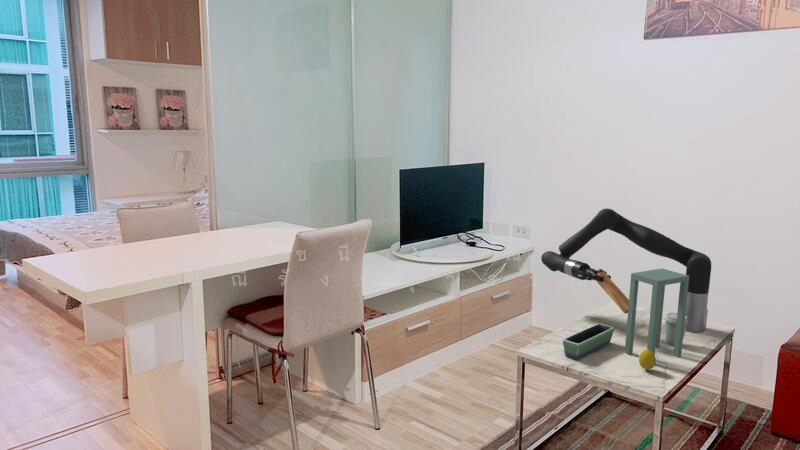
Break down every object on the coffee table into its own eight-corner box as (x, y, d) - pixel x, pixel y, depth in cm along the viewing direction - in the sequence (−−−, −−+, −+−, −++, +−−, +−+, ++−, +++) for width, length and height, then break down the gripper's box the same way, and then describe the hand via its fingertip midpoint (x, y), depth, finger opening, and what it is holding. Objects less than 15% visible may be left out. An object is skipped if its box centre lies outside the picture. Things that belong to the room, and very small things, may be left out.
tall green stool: (655, 345, 235) (662, 268, 229) (681, 356, 224) (689, 275, 219) (624, 352, 227) (631, 273, 222) (650, 364, 217) (657, 281, 211)
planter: (577, 362, 218) (578, 344, 217) (560, 357, 223) (561, 339, 222) (613, 344, 237) (615, 327, 235) (597, 339, 242) (598, 322, 240)
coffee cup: (665, 347, 233) (668, 318, 231) (659, 339, 242) (662, 311, 240) (688, 348, 232) (691, 319, 230) (681, 340, 240) (684, 312, 238)
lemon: (635, 367, 214) (637, 346, 213) (649, 366, 215) (651, 346, 213) (642, 373, 209) (644, 352, 207) (657, 373, 209) (659, 352, 208)
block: (600, 277, 249) (604, 271, 247) (630, 312, 236) (634, 306, 234) (594, 278, 248) (597, 272, 246) (624, 313, 234) (628, 307, 232)
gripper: (565, 262, 255) (594, 272, 240) (589, 259, 262) (619, 268, 246) (564, 279, 257) (593, 289, 242) (588, 275, 263) (618, 285, 248)
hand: (606, 279), depth 244 cm, fingers closed on block, 3 cm apart
